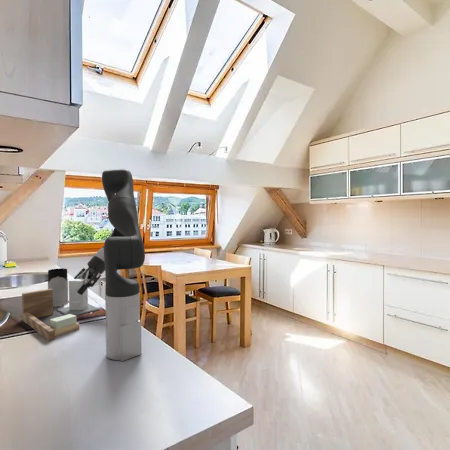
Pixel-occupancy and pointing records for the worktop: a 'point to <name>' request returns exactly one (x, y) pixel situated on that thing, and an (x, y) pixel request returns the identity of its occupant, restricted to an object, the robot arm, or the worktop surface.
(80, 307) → the skincare box
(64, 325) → the offcut top
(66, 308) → the rubber mat
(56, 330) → the offcut bottom
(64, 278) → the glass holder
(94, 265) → the robot arm
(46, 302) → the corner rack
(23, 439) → the worktop surface
